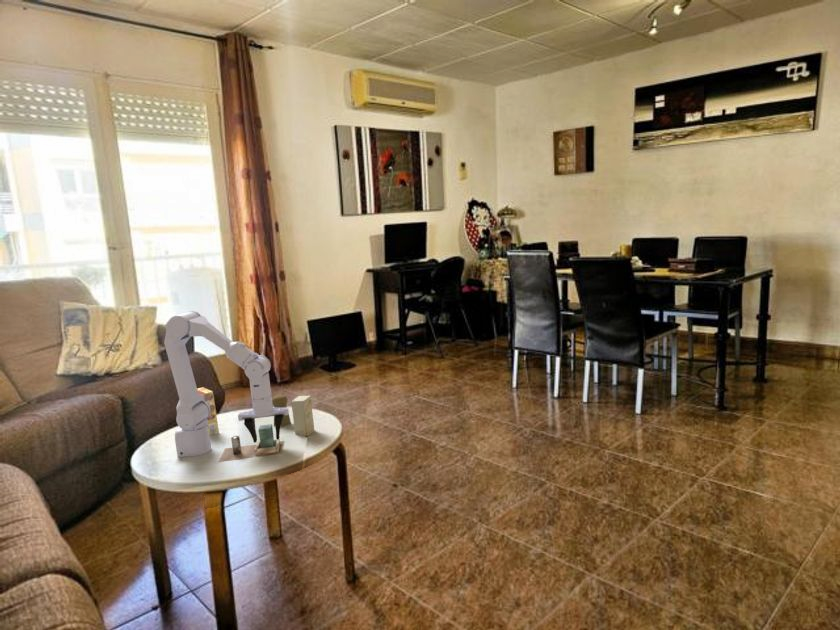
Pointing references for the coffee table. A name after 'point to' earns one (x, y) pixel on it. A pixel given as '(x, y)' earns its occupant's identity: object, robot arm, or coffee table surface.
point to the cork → (281, 402)
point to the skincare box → (302, 415)
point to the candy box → (212, 417)
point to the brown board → (253, 451)
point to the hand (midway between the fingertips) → (266, 439)
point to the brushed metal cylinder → (236, 445)
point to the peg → (266, 436)
